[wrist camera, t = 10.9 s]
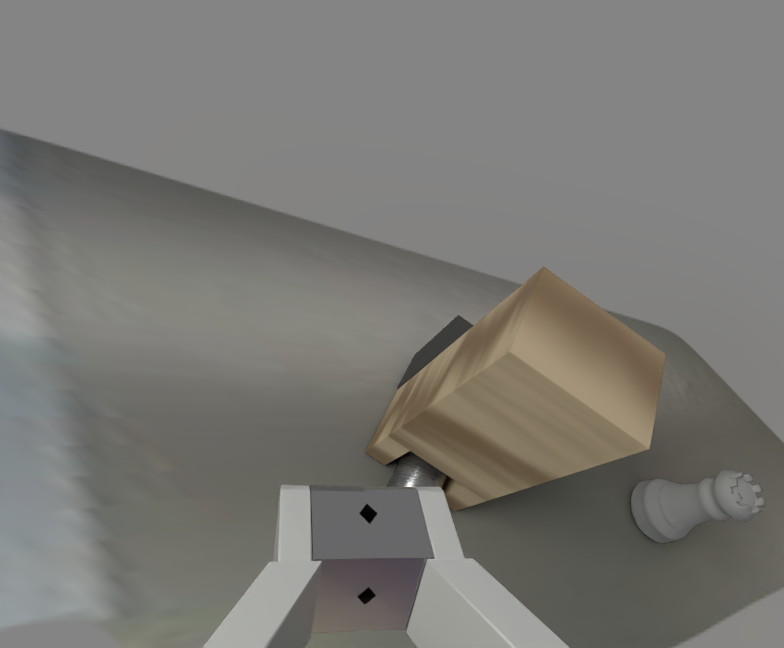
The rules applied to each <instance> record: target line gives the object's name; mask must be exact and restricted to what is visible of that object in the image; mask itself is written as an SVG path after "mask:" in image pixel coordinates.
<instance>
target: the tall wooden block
mask: <svg viewBox="0 0 784 648" xmlns="http://www.w3.org/2000/svg"><path fill="white" fill-rule="evenodd" d="M665 358H666V354H665V353H663V352H662V351H660V350H659V349H658V348H656V347H655V346H653V345H652V344H651V343H649V342H648V341H647V340H645V339H644V338H642V337H641V336H640V335H638V334H637V333H635V332H634V331H633V330H631V329H630V328H629V327H627V326H626V325H624V324H623V323H622V322H620V321H619V320H617V319H616V318H615V317H613V316H612V315H610V314H609V313H608V312H606V311H605V310H604V309H602V308H601V307H599V306H598V305H597V304H595V303H594V302H592V301H591V300H590V299H588V298H587V297H585V296H584V295H583V294H581V293H580V292H578V291H577V290H576V289H574V288H573V287H572V286H570V285H569V284H567V283H566V282H564V281H563V280H562V279H560V278H559V277H558V276H556V275H555V274H554V273H552V272H551V271H549V270H548V269H547V268H545V267H543V268H542V269H540V270H539V271H538V272H537V273H536V274H534V275H533V276H532V277H531V278H530V279H529V280H527V281H526V282H525V283H524V284H523V285H521V286H520V287H519V288H518V289H517V290H515V291H514V292H513V293H512V294H511V295H510V296H508V297H507V298H506V299H505V300H504V301H502V302H501V303H500V304H499V305H498V306H496V307H495V308H494V309H493V310H492V311H490V312H489V313H488V314H487V315H486V316H485V317H483V318H482V319H481V320H480V321H479V322H477V323H476V324H475V325H474V326H473V327H471V328H470V329H469V330H468V331H467V332H465V333H464V334H463V335H462V336H461V337H460V338H458V339H457V340H456V341H455V342H454V343H452V344H451V345H450V346H449V347H448V348H446V349H445V350H444V351H443V352H442V353H441V354H439V355H438V356H437V357H436V358H435V359H433V360H432V361H431V362H430V363H429V364H427V365H426V366H425V367H424V368H423V369H421V370H420V371H419V372H418V373H417V374H416V375H414V376H413V377H412V378H411V379H410V380H408V381H407V382H406V383H405V384H404V385H402V386H401V387H400V388H399V389H398V391H397V392H396V394H395V396H394V398H393V400H392V402H391V404H390V406H389V407H388V409H387V411H386V413H385V415H384V417H383V419H382V421H381V422H380V424H379V426H378V428H377V430H376V432H375V434H374V436H373V438H372V439H371V441H370V443H369V445H368V447H367V449H366V451H365V453H367V454H368V455H370V456H371V457H373V458H374V459H376V460H377V461H379V462H380V463H382V464H384V465H386V464H388V463H390V462H392V461H393V460H395V459H397V458H398V457H400V456H402V455H404V454H405V453H407V452H409V451H411V452H413V453H414V454H416V455H417V456H419V457H420V458H422V459H423V460H425V461H426V462H428V463H429V464H431V465H432V466H434V467H435V468H437V469H438V470H440V471H441V472H443V473H444V474H446V475H447V477H446V480H445V482H444V485H443V487H442V490H443V491H444V494H445V497H446V500H447V503H448V506H449V508H451V509H452V510H454V511H457V510H460V509H464V508H467V507H470V506H473V505H476V504H479V503H482V502H486V501H489V500H492V499H495V498H498V497H501V496H504V495H507V494H511V493H514V492H517V491H520V490H523V489H526V488H529V487H532V486H536V485H539V484H542V483H545V482H548V481H551V480H554V479H558V478H561V477H564V476H567V475H570V474H573V473H576V472H579V471H583V470H586V469H589V468H592V467H595V466H598V465H601V464H604V463H608V462H611V461H614V460H617V459H620V458H623V457H626V456H630V455H633V454H636V453H639V452H642V451H645V450H648V449H650V443H651V438H652V432H653V426H654V421H655V415H656V409H657V404H658V398H659V392H660V387H661V381H662V375H663V370H664V364H665Z"/></svg>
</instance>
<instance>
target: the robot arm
mask: <svg viewBox="0 0 784 648" xmlns="http://www.w3.org/2000/svg"><path fill="white" fill-rule="evenodd" d="M356 630H407V631H406V632H407V634H408V635H409V637H410V638H411V639H412V641H413V642H414V644H415V645H416V646H417V648H570V647H568V646H567V645H566V644H565V643H564V642H563V641H562V640H561V639H560V638H559V637H558V636H557V635H555V634H554V633H553V632H552V631H551V630H550V629H549V628H548V627H547V626H546V625H545V624H544V623H542V622H541V621H540V620H539V619H538V618H537V617H536V616H535V615H534V614H533V613H532V612H531V611H529V610H528V609H527V608H526V607H525V606H524V605H523V604H522V603H521V602H520V601H519V600H518V599H516V598H515V597H514V596H513V595H512V594H511V593H510V592H509V591H508V590H507V589H506V588H505V587H503V586H502V585H501V584H500V583H499V582H498V581H497V580H496V579H495V578H494V577H493V576H492V575H491V574H489V573H488V572H487V571H486V570H485V569H484V568H483V567H482V566H481V565H480V564H479V563H478V562H476V561H475V560H474V559H473V558H465V556H464V553H463V550H462V546H461V543H460V540H459V537H458V534H457V531H456V528H455V525H454V522H453V518H452V515H451V512H450V509H449V506H448V503H447V500H446V497H445V494H444V491H443V490H442V488H441V487H414V488H413V487H346V486H319V485H310V486H301V485H281V488H280V496H279V506H278V516H277V526H276V537H275V549H274V562H269V563H268V564H267V565H266V567H265V568H264V569H263V571H262V572H261V573H260V574H259V576H258V577H257V578H256V580H255V581H254V582H253V583H252V585H251V586H250V587H249V589H248V590H247V591H246V592H245V594H244V595H243V596H242V598H241V599H240V600H239V601H238V603H237V604H236V605H235V607H234V608H233V609H232V610H231V612H230V613H229V614H228V616H227V617H226V618H225V619H224V621H223V622H222V623H221V625H220V626H219V627H218V628H217V630H216V631H215V632H214V633H213V635H212V636H211V637H210V639H209V640H208V641H207V642H206V644H205V645H204V646H203V648H305V646H306V645H307V643H308V641H309V639H310V637H311V634H315V633H329V632H343V631H356Z"/></svg>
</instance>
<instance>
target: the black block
mask: <svg viewBox="0 0 784 648" xmlns="http://www.w3.org/2000/svg"><path fill="white" fill-rule="evenodd" d="M471 327H473V325H472V324H471V323H469V322H468V321H466V320H465V319H463V318H462V317H461V316H459V315H458V316H457V317H456V318H455V319H454V320H453V321H451V322H450V323H449V324H448V325H447V326H446V327H445V328H444V329H443V330H442V331H440V332H439V333H438V334H437V335H436V336H435V337H434V338H433V339H432V340H431V341H429V342H428V343H427V344H426V345H425V346H424V347H423V348H422V349H421V350H420V351H419V352H417V353H416V354H415V356H414V357H413V359H412V361H411V363H410V365H409V367H408V369H407V370H406V372H405V374H404V376H403V378H402V380H401V382H400V384H399V385H398V387H397V388H398V389H399V388H400V387H401V386H402V385H404V384H405V383H406V382H407V381H408V380H410V379H411V378H412V377H413V376H414V375H416V374H417V373H418V372H419V371H420V370H421V369H423V368H424V367H425V366H426V365H427V364H429V363H430V362H431V361H432V360H433V359H435V358H436V357H437V356H438V355H439V354H441V353H442V352H443V351H444V350H445V349H446V348H448V347H449V346H450V345H451V344H452V343H454V342H455V341H456V340H457V339H458V338H460V337H461V336H462V335H463V334H464V333H465V332H467V331H468V330H469V329H470V328H471Z"/></svg>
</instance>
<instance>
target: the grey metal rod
mask: <svg viewBox="0 0 784 648" xmlns="http://www.w3.org/2000/svg"><path fill="white" fill-rule="evenodd" d="M446 477H447V475H446V474H444V473H443V472H441V471H440V470H438V469H437V468H435V467H434V466H432V465H431V464H429V463H428V462H426V461H425V460H423V459H422V458H420V457H419V456H417V455H416V454H414V453H413V452H411V451H409V452H407V453H405V454H404V455H402V456H401V458H400V460H399V462H398V464H397V466H396V468H395V470H394V472H393V474H392V476H391V478H390V480H389V482H388V484H387V487H413V488H414V487H441V488H442V487H443V485H444V482H445V480H446Z"/></svg>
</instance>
